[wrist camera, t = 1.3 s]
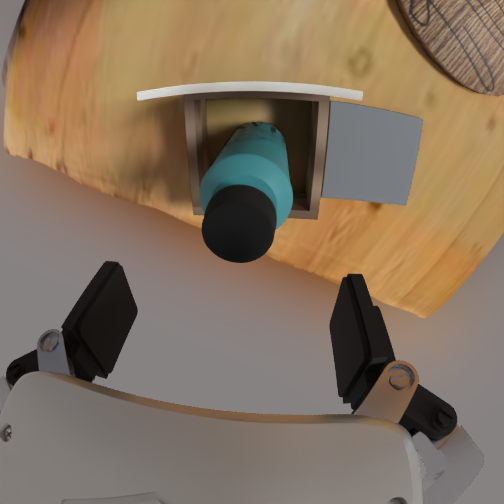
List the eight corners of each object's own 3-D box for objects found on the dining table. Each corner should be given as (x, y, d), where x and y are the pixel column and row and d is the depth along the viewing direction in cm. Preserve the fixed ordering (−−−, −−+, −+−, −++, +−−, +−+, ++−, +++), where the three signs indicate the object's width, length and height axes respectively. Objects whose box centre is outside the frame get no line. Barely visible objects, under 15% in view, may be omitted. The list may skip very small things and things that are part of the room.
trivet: (475, 126, 24) (483, 129, 23) (350, -16, 17) (355, -21, 15) (533, 50, 12) (540, 51, 10) (435, -72, 4) (440, -75, 2)
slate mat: (329, 100, 26) (331, 101, 25) (419, 118, 25) (423, 119, 25) (320, 194, 33) (321, 197, 32) (403, 202, 32) (405, 205, 32)
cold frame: (196, 84, 26) (137, 92, 14) (321, 86, 25) (362, 91, 13) (203, 197, 35) (165, 271, 22) (312, 200, 34) (332, 279, 22)
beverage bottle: (295, 132, 29) (326, 208, 13) (271, 179, 32) (267, 297, 16) (243, 109, 28) (197, 153, 11) (222, 158, 31) (165, 259, 15)
